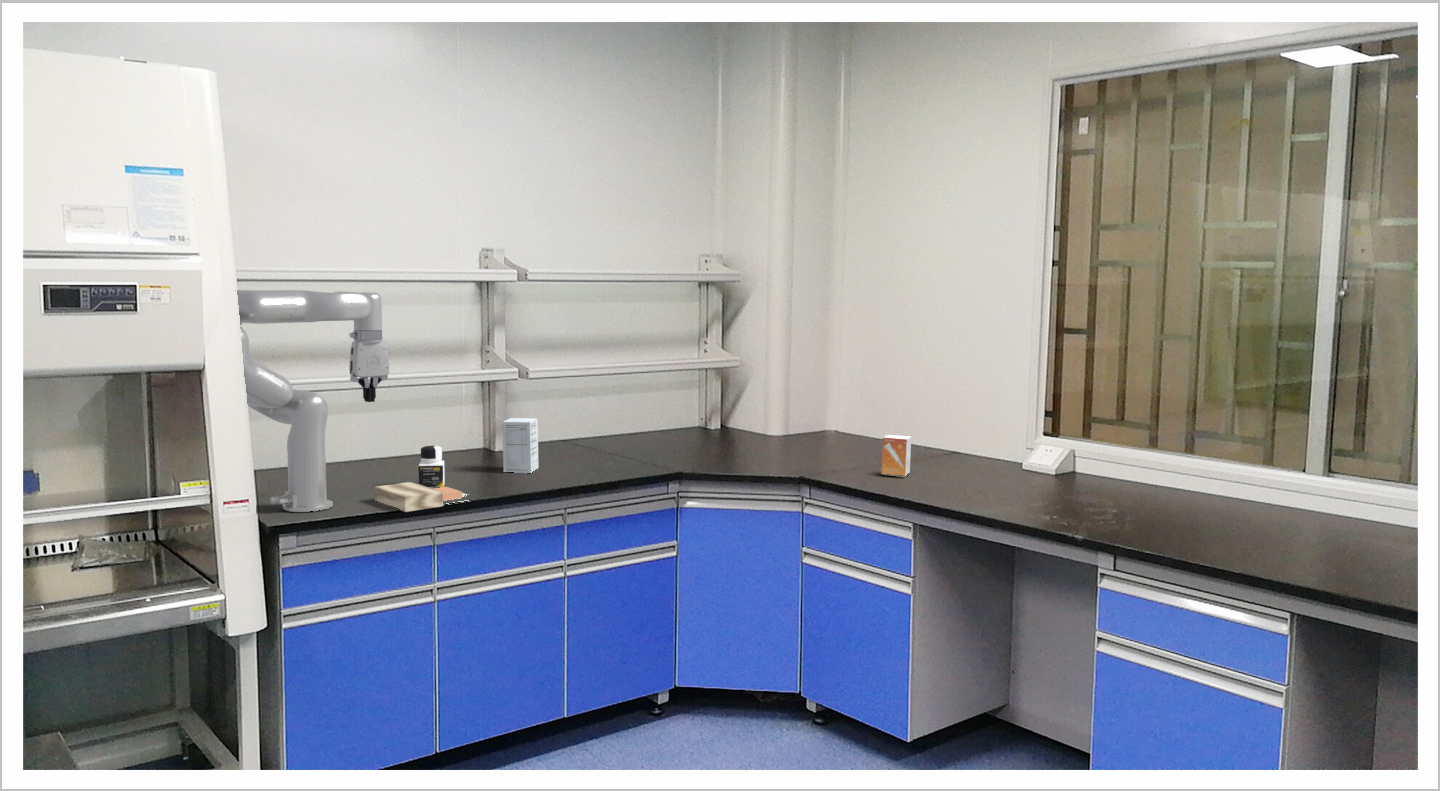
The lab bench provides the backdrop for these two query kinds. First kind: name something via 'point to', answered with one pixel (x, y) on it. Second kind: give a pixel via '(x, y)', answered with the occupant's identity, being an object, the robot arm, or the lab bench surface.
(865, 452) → the lab bench surface
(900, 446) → the small box
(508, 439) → the supplement box
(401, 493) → the beige wooden block
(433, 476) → the medicine bottle
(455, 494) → the salmon orange block
